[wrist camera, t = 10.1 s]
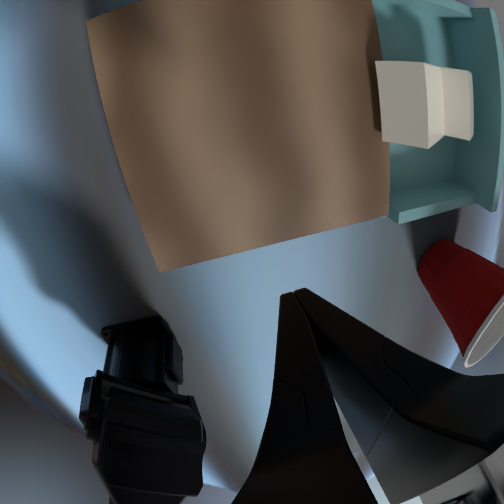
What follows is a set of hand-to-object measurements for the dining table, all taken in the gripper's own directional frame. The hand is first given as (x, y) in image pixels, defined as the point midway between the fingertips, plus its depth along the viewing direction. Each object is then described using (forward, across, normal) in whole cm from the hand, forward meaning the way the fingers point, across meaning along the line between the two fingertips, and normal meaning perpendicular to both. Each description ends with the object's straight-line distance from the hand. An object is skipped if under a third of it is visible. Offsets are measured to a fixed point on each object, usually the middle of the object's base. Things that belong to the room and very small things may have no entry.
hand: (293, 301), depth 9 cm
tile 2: (+9, -11, -5) cm, 15 cm away
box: (+12, -16, -4) cm, 21 cm away
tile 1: (+8, -14, -5) cm, 17 cm away
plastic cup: (+13, -20, +14) cm, 28 cm away
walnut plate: (+13, -2, -5) cm, 14 cm away
